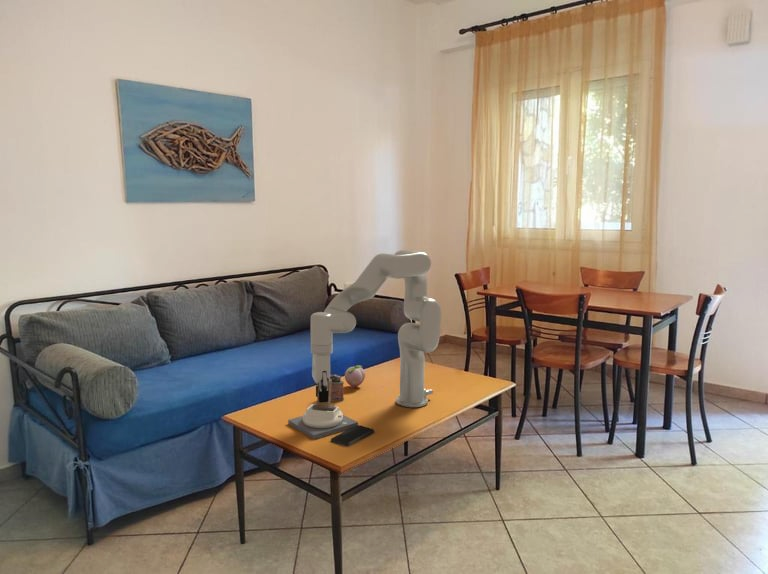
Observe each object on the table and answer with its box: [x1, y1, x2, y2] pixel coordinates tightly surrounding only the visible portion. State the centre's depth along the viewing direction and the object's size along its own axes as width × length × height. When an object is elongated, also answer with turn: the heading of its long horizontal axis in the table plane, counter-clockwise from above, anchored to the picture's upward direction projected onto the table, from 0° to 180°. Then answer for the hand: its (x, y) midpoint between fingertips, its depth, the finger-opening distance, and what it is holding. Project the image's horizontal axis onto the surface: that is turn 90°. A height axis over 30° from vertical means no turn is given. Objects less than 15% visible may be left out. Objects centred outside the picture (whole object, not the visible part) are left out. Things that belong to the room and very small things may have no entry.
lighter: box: [330, 374, 345, 402], centre depth 218 cm, size 8×3×10 cm, turn 71°
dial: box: [302, 403, 344, 428], centre depth 192 cm, size 14×14×4 cm
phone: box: [330, 424, 376, 448], centre depth 183 cm, size 8×1×15 cm
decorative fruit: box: [344, 364, 366, 388], centre depth 233 cm, size 9×8×10 cm
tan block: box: [313, 379, 336, 411], centre depth 191 cm, size 4×7×12 cm, turn 84°
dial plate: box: [287, 414, 359, 440], centre depth 192 cm, size 18×17×2 cm
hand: (322, 398), depth 191 cm, fingers closed on tan block, 4 cm apart
